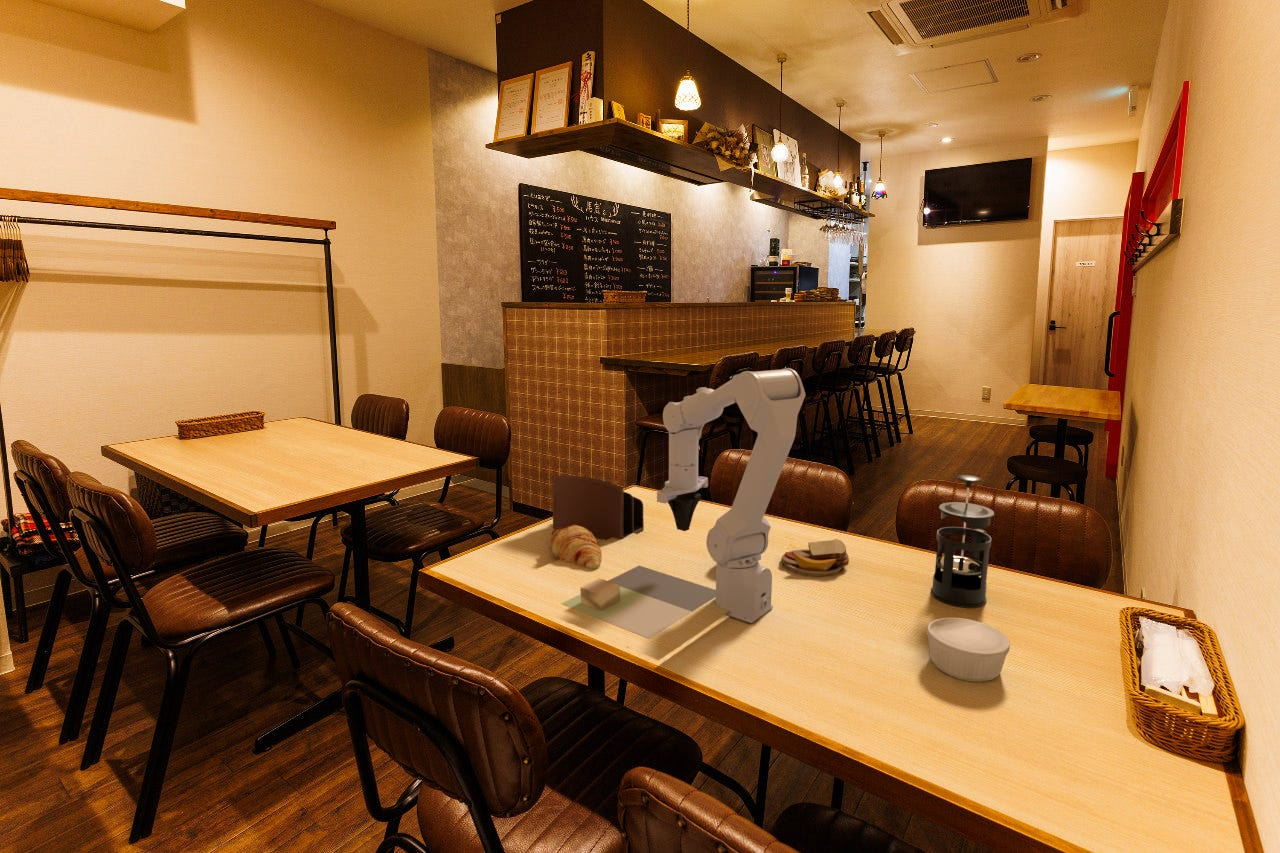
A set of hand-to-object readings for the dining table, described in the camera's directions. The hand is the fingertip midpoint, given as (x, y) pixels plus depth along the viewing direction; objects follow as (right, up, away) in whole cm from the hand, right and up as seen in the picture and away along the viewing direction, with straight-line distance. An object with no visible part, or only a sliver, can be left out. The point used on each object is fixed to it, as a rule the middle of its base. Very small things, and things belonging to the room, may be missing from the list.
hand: (682, 529), depth 133 cm
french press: (+51, -11, -8) cm, 53 cm away
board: (-8, -12, -11) cm, 18 cm away
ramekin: (+40, -16, -32) cm, 54 cm away
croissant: (-23, -8, +11) cm, 26 cm away
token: (-16, -11, -13) cm, 23 cm away
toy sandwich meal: (+28, -9, +6) cm, 30 cm away
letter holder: (-19, -5, +28) cm, 34 cm away
